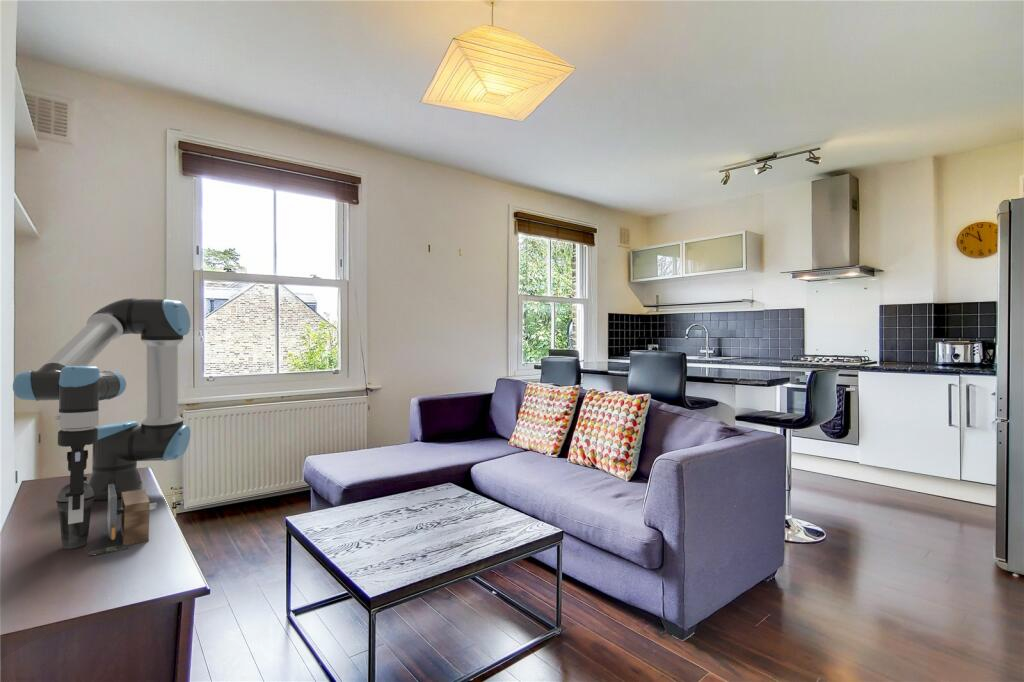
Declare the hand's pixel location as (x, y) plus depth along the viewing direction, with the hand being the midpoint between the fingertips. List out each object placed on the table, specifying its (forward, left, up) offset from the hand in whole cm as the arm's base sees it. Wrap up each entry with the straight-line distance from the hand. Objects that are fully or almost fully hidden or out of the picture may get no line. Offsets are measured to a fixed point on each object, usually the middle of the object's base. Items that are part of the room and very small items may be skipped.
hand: (75, 515), depth 124 cm
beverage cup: (0, 0, -8) cm, 8 cm away
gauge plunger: (-9, +7, -5) cm, 12 cm away
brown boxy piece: (-6, +6, -8) cm, 11 cm away
